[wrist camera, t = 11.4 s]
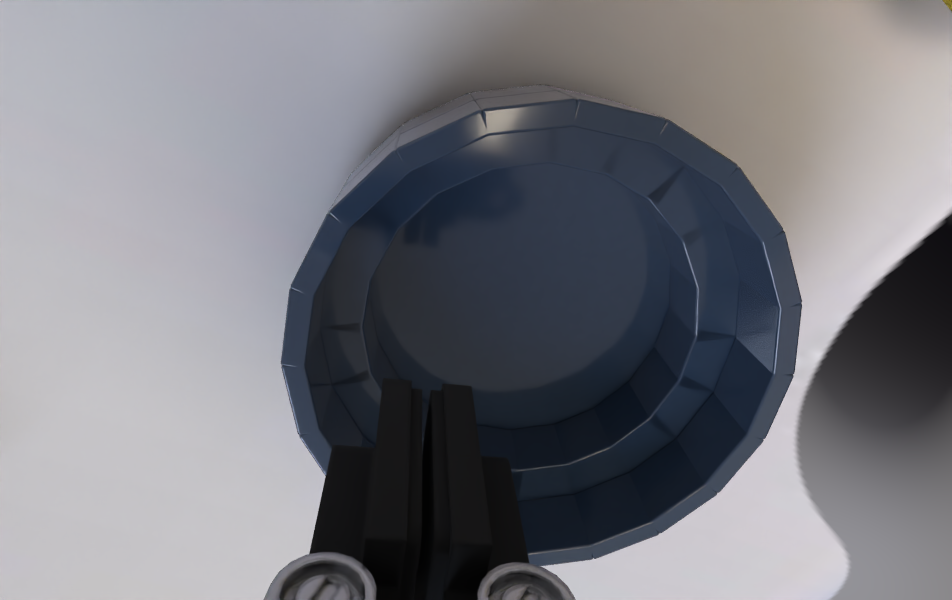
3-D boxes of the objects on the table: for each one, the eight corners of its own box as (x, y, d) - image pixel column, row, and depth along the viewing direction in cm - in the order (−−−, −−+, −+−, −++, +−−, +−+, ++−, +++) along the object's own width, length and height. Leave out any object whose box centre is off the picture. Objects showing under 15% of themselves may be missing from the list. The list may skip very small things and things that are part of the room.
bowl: (296, 431, 22) (260, 539, 18) (348, 38, 18) (317, 38, 13) (644, 480, 24) (697, 589, 19) (776, 137, 20) (889, 169, 15)
